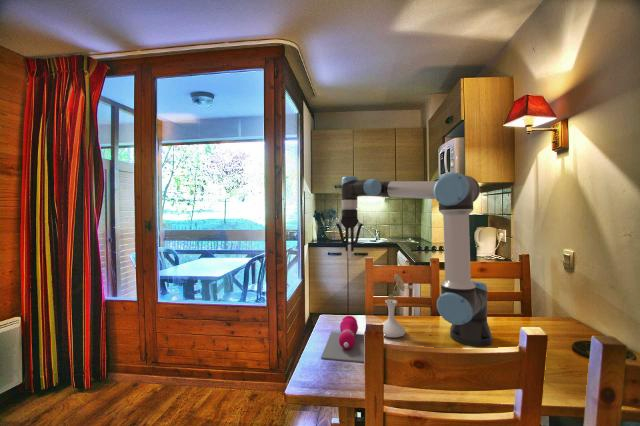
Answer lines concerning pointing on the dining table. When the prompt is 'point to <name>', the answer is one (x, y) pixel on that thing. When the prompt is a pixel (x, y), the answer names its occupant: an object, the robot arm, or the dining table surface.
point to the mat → (338, 353)
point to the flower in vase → (391, 324)
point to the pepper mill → (348, 332)
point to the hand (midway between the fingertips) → (349, 258)
